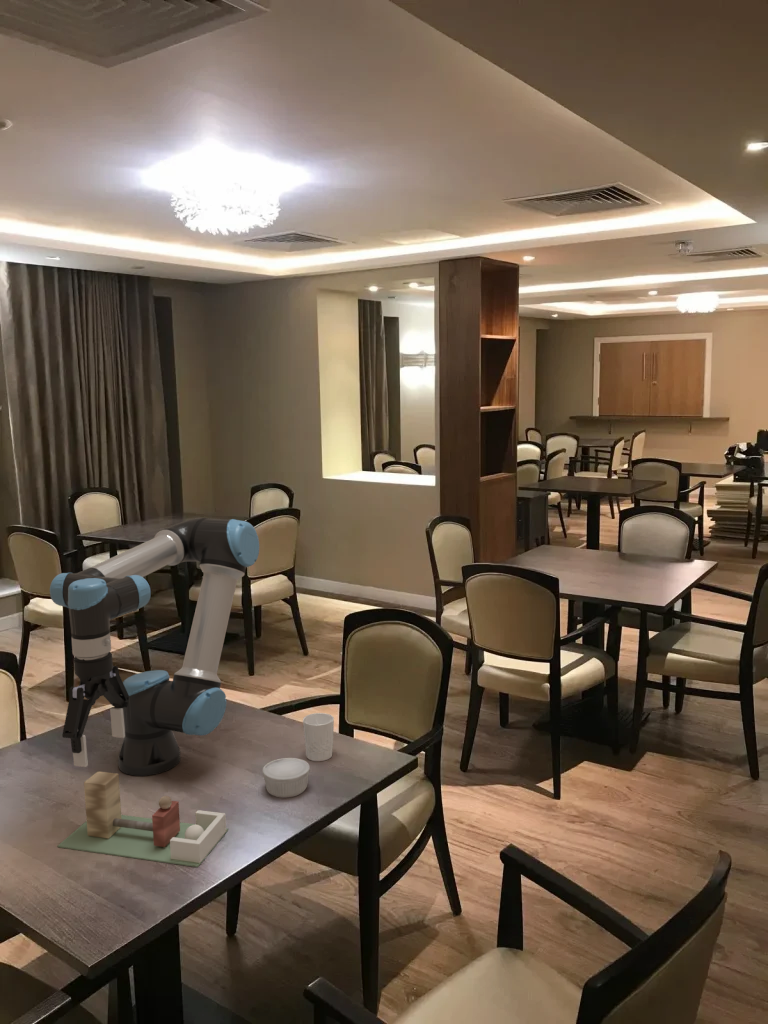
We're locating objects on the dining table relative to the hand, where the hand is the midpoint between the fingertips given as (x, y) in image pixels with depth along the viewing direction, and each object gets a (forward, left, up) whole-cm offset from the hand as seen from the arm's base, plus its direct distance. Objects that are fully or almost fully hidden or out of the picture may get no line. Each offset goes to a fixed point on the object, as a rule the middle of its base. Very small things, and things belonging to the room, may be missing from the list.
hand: (100, 750), depth 168 cm
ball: (+21, 0, -16) cm, 27 cm away
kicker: (+7, 0, -18) cm, 19 cm away
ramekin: (+31, +27, -19) cm, 45 cm away
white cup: (+33, +45, -19) cm, 59 cm away
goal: (+23, 0, -18) cm, 29 cm away
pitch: (+9, 0, -18) cm, 21 cm away
